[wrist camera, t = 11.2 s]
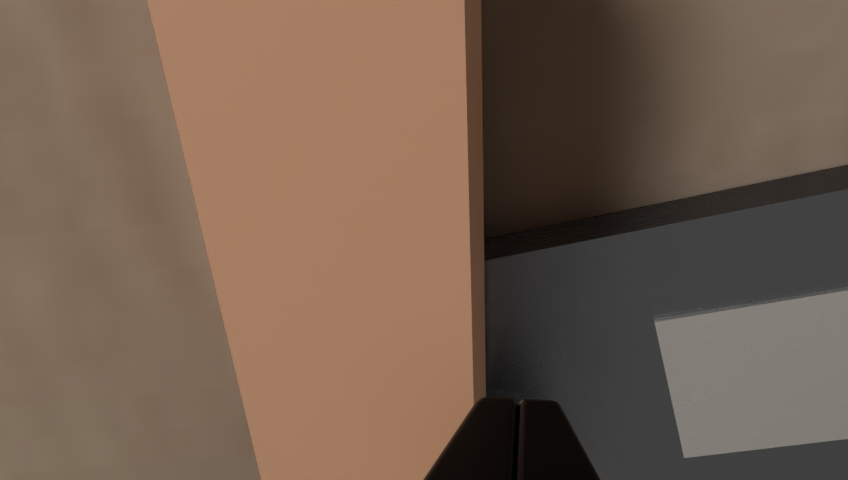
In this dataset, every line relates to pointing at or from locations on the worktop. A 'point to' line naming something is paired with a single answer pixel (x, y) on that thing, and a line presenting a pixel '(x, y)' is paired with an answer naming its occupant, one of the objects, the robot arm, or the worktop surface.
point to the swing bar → (339, 219)
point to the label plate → (686, 331)
